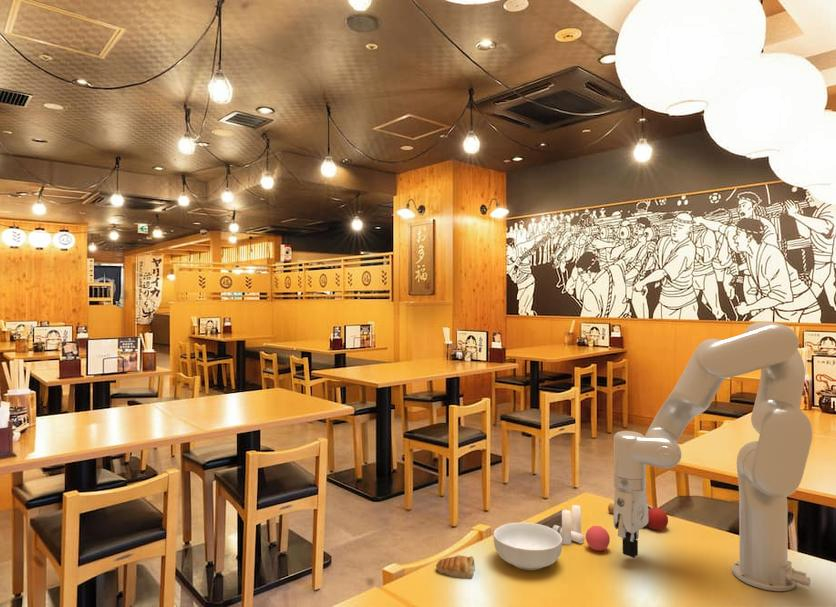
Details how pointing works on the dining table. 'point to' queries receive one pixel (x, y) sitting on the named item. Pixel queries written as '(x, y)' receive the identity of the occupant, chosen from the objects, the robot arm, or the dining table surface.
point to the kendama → (651, 517)
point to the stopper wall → (552, 520)
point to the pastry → (457, 566)
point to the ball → (597, 538)
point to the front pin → (574, 535)
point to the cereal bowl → (528, 545)
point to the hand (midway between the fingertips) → (630, 554)
